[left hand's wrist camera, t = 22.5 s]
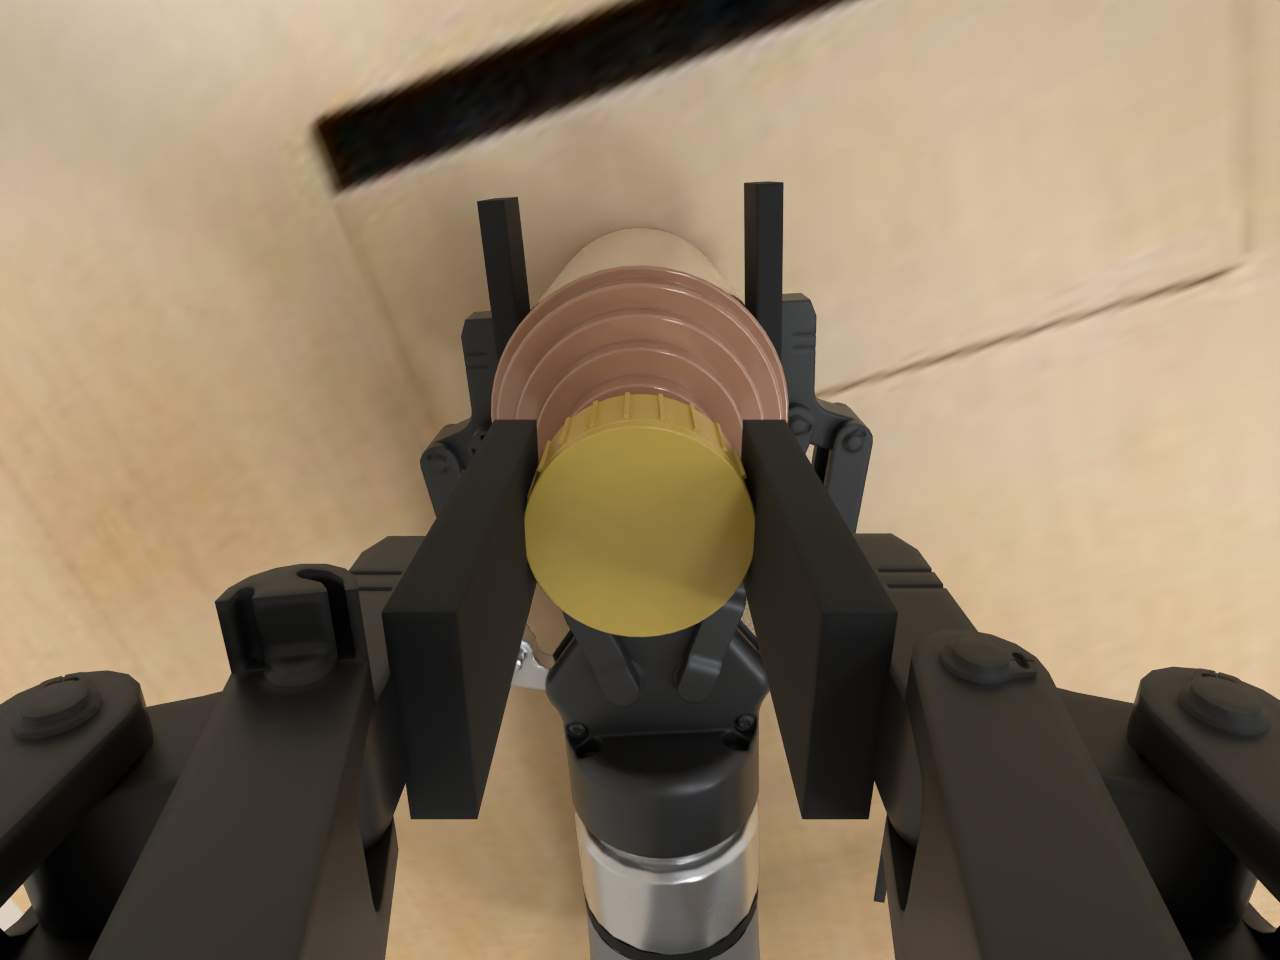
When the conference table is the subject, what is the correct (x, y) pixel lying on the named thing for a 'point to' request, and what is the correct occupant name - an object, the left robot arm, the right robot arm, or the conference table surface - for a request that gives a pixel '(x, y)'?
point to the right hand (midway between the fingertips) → (630, 192)
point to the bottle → (639, 339)
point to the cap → (639, 517)
